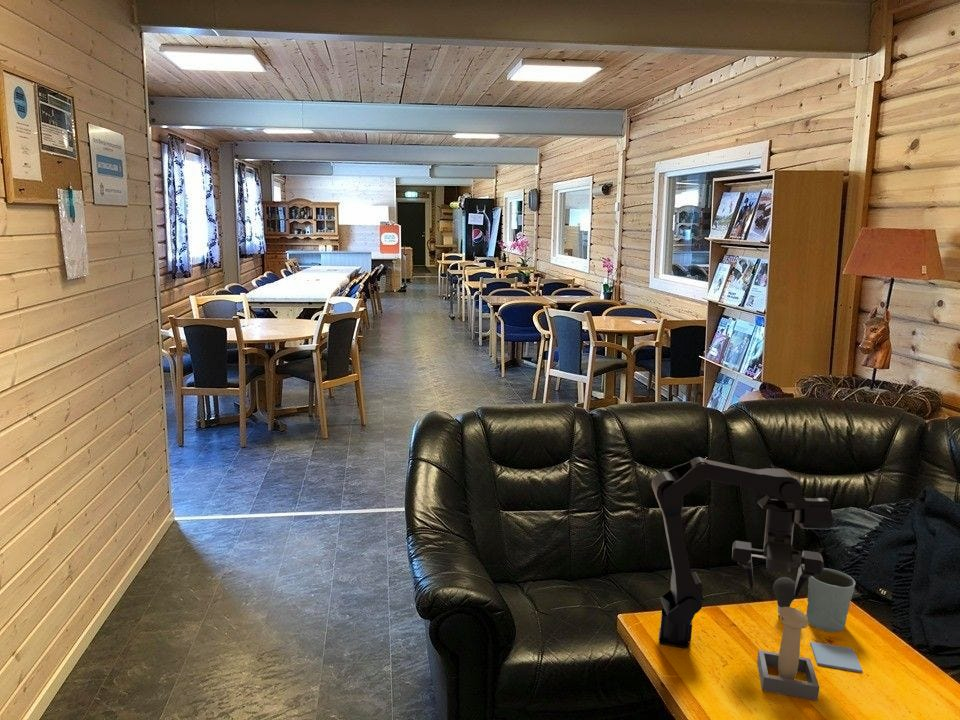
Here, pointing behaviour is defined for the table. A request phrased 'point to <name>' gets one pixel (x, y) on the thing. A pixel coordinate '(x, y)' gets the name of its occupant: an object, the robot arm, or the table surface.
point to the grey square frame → (787, 685)
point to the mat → (835, 657)
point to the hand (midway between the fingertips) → (773, 592)
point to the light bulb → (784, 592)
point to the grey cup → (829, 599)
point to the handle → (790, 641)
